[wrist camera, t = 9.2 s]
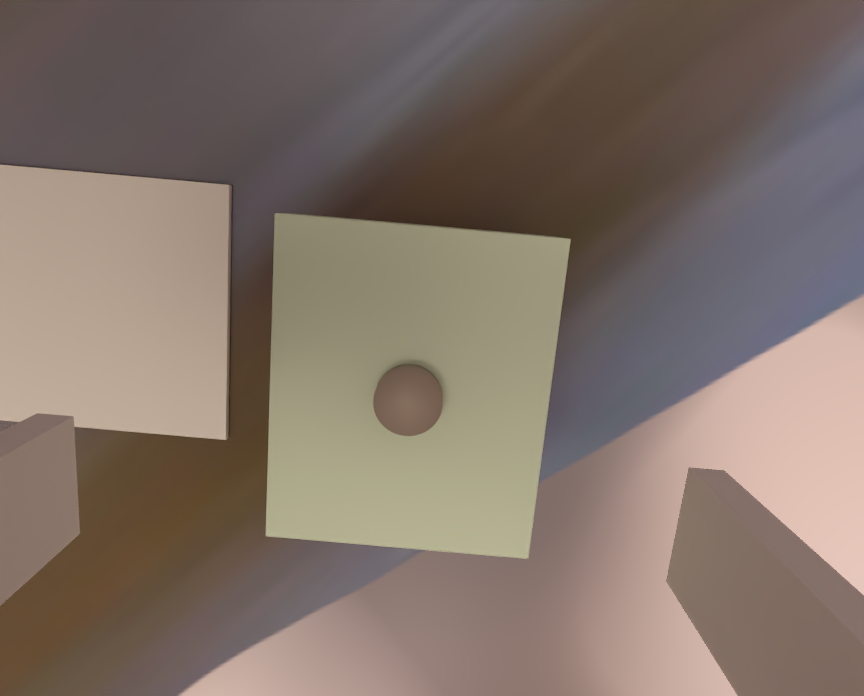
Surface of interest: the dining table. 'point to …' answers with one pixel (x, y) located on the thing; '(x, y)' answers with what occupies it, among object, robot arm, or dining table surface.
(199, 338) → the mat
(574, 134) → the dining table surface
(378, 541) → the lid
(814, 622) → the robot arm
